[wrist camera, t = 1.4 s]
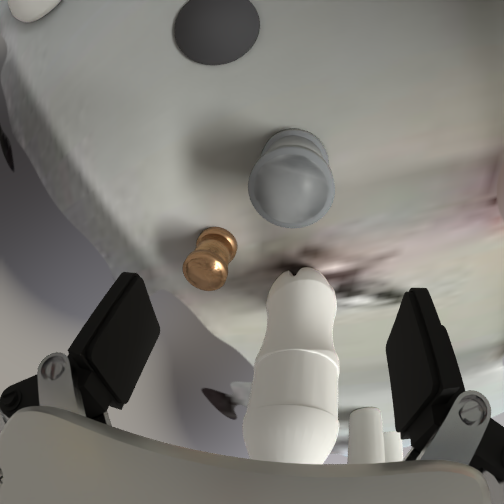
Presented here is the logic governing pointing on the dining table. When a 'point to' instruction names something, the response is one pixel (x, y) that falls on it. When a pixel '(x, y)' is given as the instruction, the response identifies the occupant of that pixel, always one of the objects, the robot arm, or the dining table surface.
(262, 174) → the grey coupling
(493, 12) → the dining table surface
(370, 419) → the mug
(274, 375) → the water bottle
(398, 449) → the cup
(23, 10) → the flower in vase
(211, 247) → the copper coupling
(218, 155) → the dining table surface
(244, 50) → the pad
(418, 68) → the dining table surface
